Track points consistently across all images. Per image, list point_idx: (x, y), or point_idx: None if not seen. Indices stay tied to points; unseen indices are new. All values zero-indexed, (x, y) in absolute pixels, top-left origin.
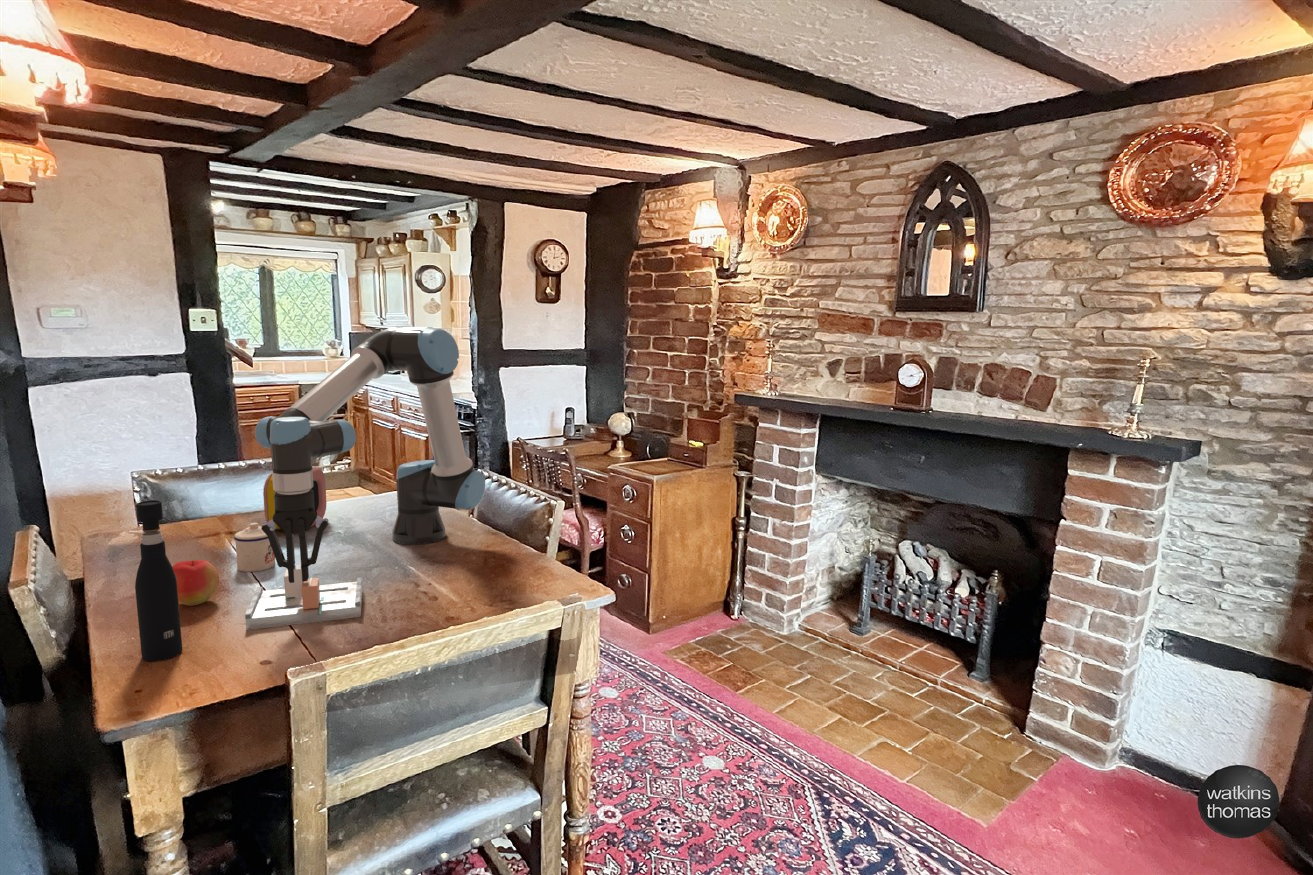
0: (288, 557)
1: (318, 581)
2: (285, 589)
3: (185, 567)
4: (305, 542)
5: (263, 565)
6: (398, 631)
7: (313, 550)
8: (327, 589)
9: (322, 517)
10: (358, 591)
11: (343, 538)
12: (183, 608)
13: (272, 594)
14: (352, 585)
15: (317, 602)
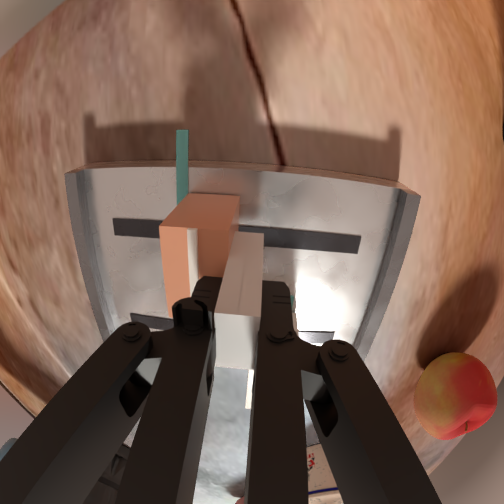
0: (291, 391)
1: (167, 289)
2: (295, 331)
3: (487, 408)
4: (123, 479)
5: (316, 450)
6: (27, 58)
7: (94, 397)
8: None
9: (237, 501)
10: (84, 263)
11: (207, 476)
12: (459, 346)
13: None
14: None
15: (184, 199)
